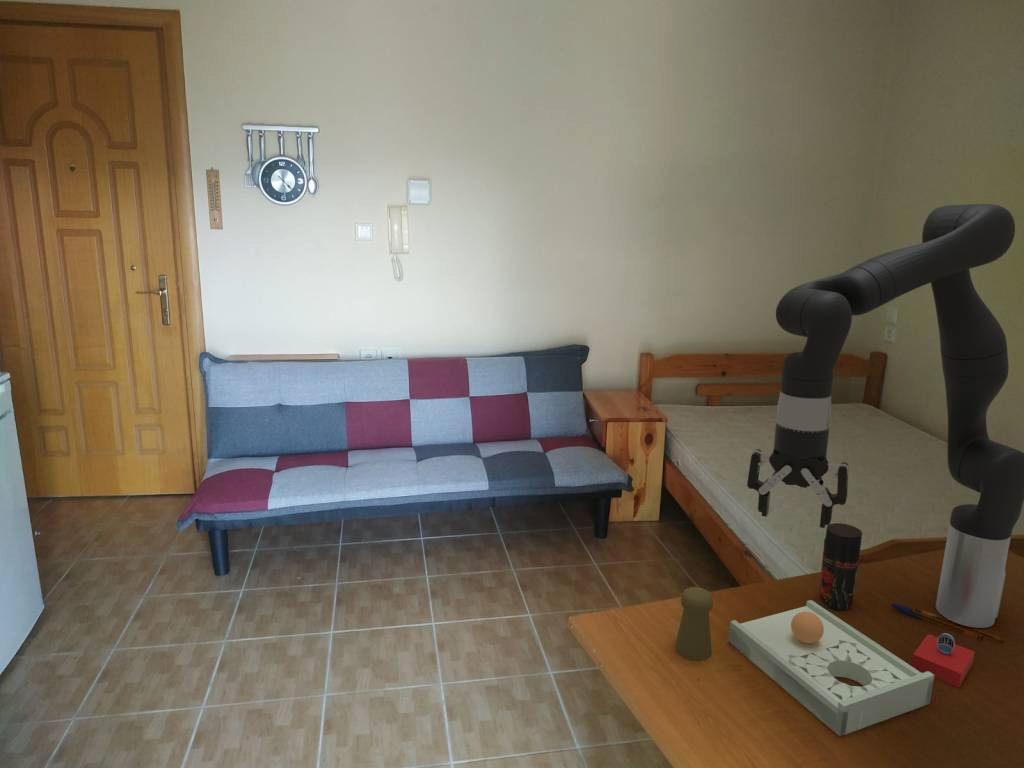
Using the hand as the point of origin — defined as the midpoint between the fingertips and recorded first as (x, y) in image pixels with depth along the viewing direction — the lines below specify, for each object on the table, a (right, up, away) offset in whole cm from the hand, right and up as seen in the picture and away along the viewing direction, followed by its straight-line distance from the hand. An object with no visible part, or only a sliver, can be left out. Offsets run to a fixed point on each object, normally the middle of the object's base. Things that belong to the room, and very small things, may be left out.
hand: (793, 520), depth 109 cm
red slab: (+26, -25, +5) cm, 37 cm away
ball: (+5, -19, +6) cm, 20 cm away
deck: (+6, -25, +3) cm, 26 cm away
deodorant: (+17, -20, +23) cm, 35 cm away
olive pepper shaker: (-13, -24, +9) cm, 29 cm away
